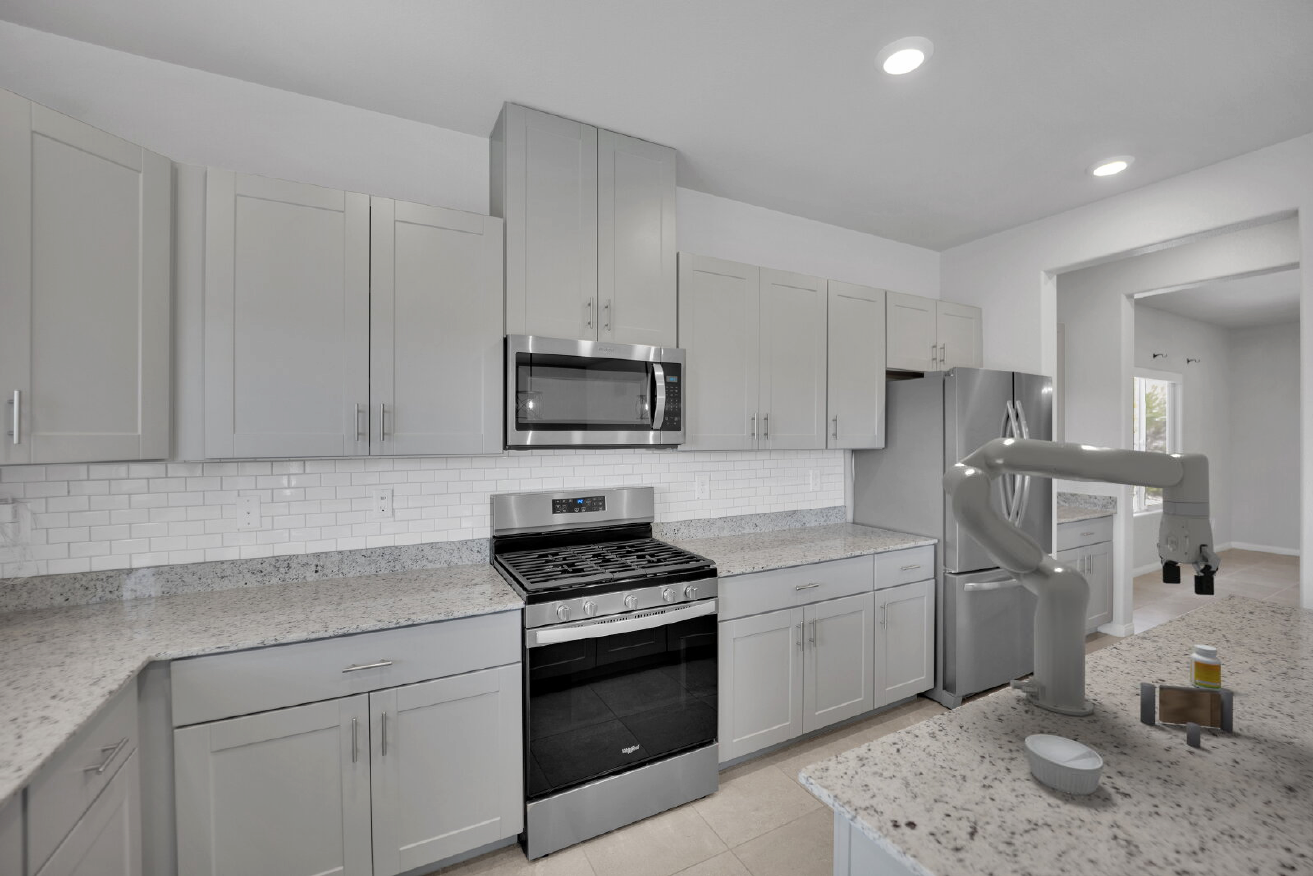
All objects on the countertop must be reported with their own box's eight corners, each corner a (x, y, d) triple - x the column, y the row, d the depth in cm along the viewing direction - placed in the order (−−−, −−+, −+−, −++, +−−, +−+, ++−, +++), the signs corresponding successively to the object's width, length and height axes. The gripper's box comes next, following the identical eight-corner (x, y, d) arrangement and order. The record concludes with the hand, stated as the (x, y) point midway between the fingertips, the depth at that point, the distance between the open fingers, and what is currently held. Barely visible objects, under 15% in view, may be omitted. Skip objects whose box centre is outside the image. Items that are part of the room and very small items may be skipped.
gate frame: (1192, 748, 111) (1193, 706, 111) (1137, 720, 122) (1137, 682, 122) (1203, 747, 111) (1203, 706, 111) (1147, 719, 122) (1147, 682, 122)
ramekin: (1107, 808, 92) (1107, 776, 92) (1025, 786, 98) (1025, 755, 98) (1098, 774, 102) (1098, 745, 102) (1024, 756, 108) (1024, 728, 108)
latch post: (1224, 732, 117) (1224, 692, 118) (1216, 727, 119) (1216, 688, 120) (1235, 733, 117) (1235, 693, 117) (1227, 728, 119) (1228, 689, 119)
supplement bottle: (1227, 692, 136) (1227, 652, 136) (1200, 690, 137) (1200, 650, 138) (1210, 683, 142) (1210, 644, 142) (1184, 681, 143) (1185, 642, 143)
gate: (1163, 723, 120) (1163, 686, 120) (1158, 719, 121) (1158, 683, 121) (1220, 728, 118) (1220, 691, 118) (1214, 724, 119) (1214, 688, 119)
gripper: (1140, 505, 134) (1141, 579, 133) (1194, 514, 117) (1196, 598, 116) (1177, 505, 132) (1179, 580, 132) (1238, 515, 115) (1240, 600, 115)
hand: (1187, 588), depth 124 cm, fingers open, 9 cm apart
